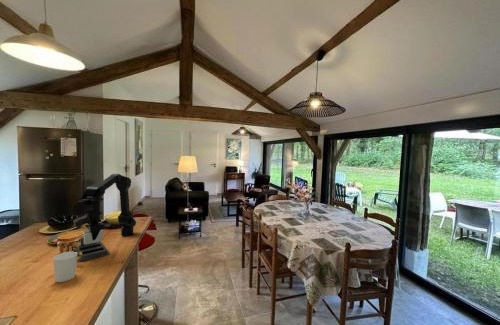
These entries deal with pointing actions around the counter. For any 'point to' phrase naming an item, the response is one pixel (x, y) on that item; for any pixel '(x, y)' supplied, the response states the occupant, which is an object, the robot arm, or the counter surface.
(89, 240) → the panel
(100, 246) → the rack
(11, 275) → the counter surface
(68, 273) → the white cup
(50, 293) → the counter surface
